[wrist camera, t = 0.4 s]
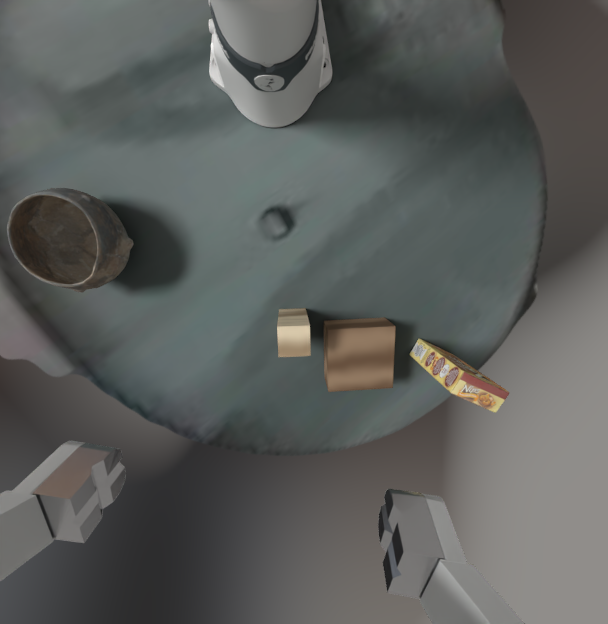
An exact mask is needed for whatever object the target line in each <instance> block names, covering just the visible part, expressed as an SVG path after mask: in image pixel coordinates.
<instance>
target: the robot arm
mask: <svg viewBox="0 0 608 624" xmlns="http://www.w3.org/2000/svg"><path fill="white" fill-rule="evenodd" d="M208 1H209V6H210V9H211V14H212V19H209V30H210V33H212V43H211V55H210V68H209V73H210V77H211V80H212V81H213V83H214V84H215V85H216V86H218V87H219V88H220V89H222V90H223V91H225V92H226V93H227V94H228V95H229V96H230V98H231V99H232V101H233V102H234V104H235V105H236V107H237V108H238V109H239V111H240V112H241V113H242V114H243V115H244V116H245V117H247V118H248V119H249V120H251V121H253V122H254V123H257V124H259V125H262V126H266V127H282V126H286V125H289V124H291V123H293V122H295V121H296V120H298V119H299V118H300V117H301V116H302V115H303V114H304V113H305V112H306V111H307V110H308V108H309V107H310V105H311V103H312V102H313V100H314V98H315V96H316V95H317V94H318V93H319V92H320V91H321V90H323V89H324V88H325V87H326V86H327V85H328V84H329V83H330V82H331V80H332V65H331V59H330V53H329V47H328V41H327V35H326V29H325V23H324V16H323V10H322V4H321V0H208ZM324 65H325V66H326V67H325V68H323V67H324ZM121 458H122V453H121V449H117V448H111V447H105V446H99V445H94V444H88V443H82V442H76V441H68V442H66V443H64V444H62V445H61V446H60V447H59V448H58V449H57V450H56V451H55V452H54V453H53V454H52V455H50V456H49V457H48V458H47V459H46V460H45V461H44V462H43V463H42V464H41V465H40V466H39V467H38V468H36V469H35V470H34V471H33V472H32V473H31V474H30V475H29V476H28V477H27V478H26V479H24V481H22V482H21V483H20V484H19V485H18V486H17V487H16V488H15V489H14V490H13V491H5V492H3V493H1V494H0V581H1V580H3V579H4V578H5V577H7V576H8V575H9V574H11V573H12V572H13V571H15V570H16V569H17V568H19V567H20V566H21V565H22V564H24V563H25V562H27V561H28V560H29V559H31V558H32V557H33V556H35V555H36V554H37V553H39V552H40V551H41V550H43V549H44V548H45V547H46V546H48V545H49V544H50V543H52V542H53V539H57V540H65V541H73V542H81V543H84V542H85V541H86V540H87V538H88V537H89V536H90V534H91V533H92V531H93V530H94V528H95V527H96V526H97V524H98V523H99V521H100V520H101V519H102V512H103V508H105V507H106V506H108V505H109V504H111V503H112V502H113V501H114V500H115V499H116V497H117V496H118V494H119V493H120V491H121V488H122V486H123V484H124V482H125V475H126V472H125V467H124V466H123V465H122V464H121V463H120V462H119V461H120V460H121ZM384 498H385V504H384V505H383V506H381V509H380V512H379V521H378V530H379V539H380V544H381V546H382V547H383V549H384V550H385V552H386V555H385V558H384V560H383V567H384V573H385V581H386V587H387V592H388V593H391V594H397V595H402V596H407V597H412V598H417V599H420V603H421V605H422V606H423V608H424V610H425V611H426V613H427V615H428V617H429V618H430V620H431V622H432V623H433V624H525V623H524V622H523V621H522V620H521V619H520V618H519V616H518V615H517V614H516V613H515V612H514V611H513V609H512V608H511V607H510V606H509V605H508V604H507V603H506V601H505V600H504V599H503V598H502V597H501V596H500V595H499V594H498V592H497V591H496V590H495V589H494V588H493V586H491V584H490V583H489V582H488V581H487V580H486V579H485V578H484V576H483V575H482V574H481V573H480V572H479V570H478V569H477V568H476V567H475V566H474V565H473V564H469V563H467V561H466V559H465V556H464V553H463V550H462V548H461V545H460V543H459V540H458V537H457V535H456V532H455V529H454V527H453V524H452V521H451V519H450V516H449V513H448V511H447V508H446V505H445V503H444V500H443V499H442V498H441V497H440V496H434V495H426V494H421V493H417V492H409V491H401V490H394V489H388V490H387V491H386V493H385V496H384Z"/></svg>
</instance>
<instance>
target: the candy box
mask: <svg viewBox="0 0 608 624" xmlns="http://www.w3.org/2000/svg"><path fill="white" fill-rule="evenodd" d="M409 355H410V356H411V357H412V358H414V359H415V360H416V361H417V362H418V363H419V364H420V365H421V366H422V367H423V368H424V369H425V370H427V371H428V372H429V373H430V374H431V375H432V376H433V377H434V378H435V379H436V380H437V381H438V382H439V383H441V384H442V385H443V386H444V387H445V388H446V389H447V390H448V391H449V392H450V393H452V394H454V395H456V396H458V397H460V398H463V399H465V400H467V401H469V402H471V403H474V404H476V405H479V406H481V407H483V408H485V409H488V410H490V411H492V412H494V413H496V412H497V410H498V409H499V407H500V406H501V405H502V403H503V402H504V400H505V399H506V398H507V396H508V395H509V392H508V391H506V390H505V389H504V388H502V387H501V386H499V385H498V384H496V383H495V382H493V381H492V380H490V379H489V378H487V377H486V376H484V375H483V374H482V373H480V372H479V371H477V370H476V369H474V368H473V367H471V366H470V365H468V364H467V363H465V362H464V361H462V360H461V359H459V358H458V357H456V356H455V355H453V354H451V353H449V352H447V351H445V350H443V349H441V348H439V347H437V346H435V345H432V344H430V343H428V342H426V341H424V340H422V339H420V338H419V339H418V341H417V342H416V344H415V346H414V347H413V349H412V351H411V352H410V354H409Z"/></svg>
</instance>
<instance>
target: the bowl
mask: <svg viewBox="0 0 608 624" xmlns="http://www.w3.org/2000/svg"><path fill="white" fill-rule="evenodd" d="M7 234H8V240H9V243H10V247H11V249H12V251H13V253H14V256H15V257H16V259H17V260H18V261H19V263H20V264H21V265H22V266H23V267H24V268H25V269H26V270H27V271H28V272H29V273H30V274H31V275H33V276H34V277H36V278H38V279H40V280H42V281H44V282H46V283H49V284H52V285H55V286H59V287H64V288H68V289H73V290H74V291H76V292H84V291H85V290H86V289H92V288H98V287H100V286H102V285H104V284H107V283H108V282H110V281H112V280H113V279H115V278H116V277H117V276H118V275H119V274H120V273H121V272H122V270H123V269H124V268H125V266H126V264H127V262H128V260H129V255H130V250H131V248H132V247H133V245H134V243H133V240H132V239H130V238H129V237H128V235H127V232H126V230H125V228H124V226H123V224H122V223H121V221H120V219H119V218H118V216H117V215H116V214H115V213H114V211H113V210H112V209H111V208H110V207H109V206H107V205H106V204H105V203H104V202H102V201H101V200H99V199H97V198H95V197H93V196H91V195H89V194H86V193H84V192H81V191H77V190H73V189H67V188H56V189H55V188H51V189H47V190H44V191H39V192H36V193H34V194H31V195H29V196H27V197H26V198H24V199H22V200H21V201H20V202H18V203H17V204H16V205H15V207H14V208H13V209H12V211H11V214H10V217H9V220H8V225H7Z"/></svg>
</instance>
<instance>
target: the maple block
mask: <svg viewBox="0 0 608 624" xmlns="http://www.w3.org/2000/svg"><path fill="white" fill-rule="evenodd" d="M277 333H278V354H279V357H294V356H311V355H310V324H309V320H308V316H307V312H306V308H300V309H279V316H278V324H277Z"/></svg>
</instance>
